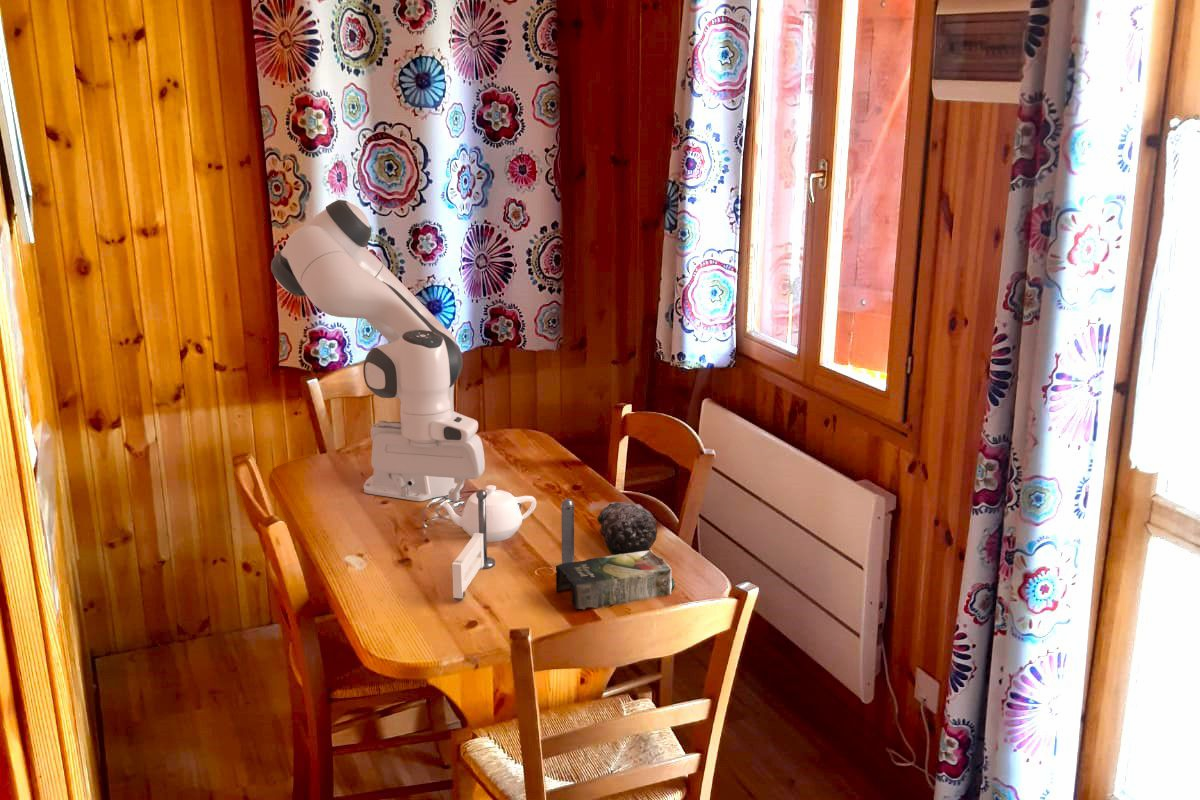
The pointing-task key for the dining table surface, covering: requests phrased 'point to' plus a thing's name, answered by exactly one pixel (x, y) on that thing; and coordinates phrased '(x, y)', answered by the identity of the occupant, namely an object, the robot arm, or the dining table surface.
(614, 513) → the pine cone
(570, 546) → the latch post
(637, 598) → the juice carton
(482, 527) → the hinge post
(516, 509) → the teapot
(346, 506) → the dining table surface
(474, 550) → the gate
